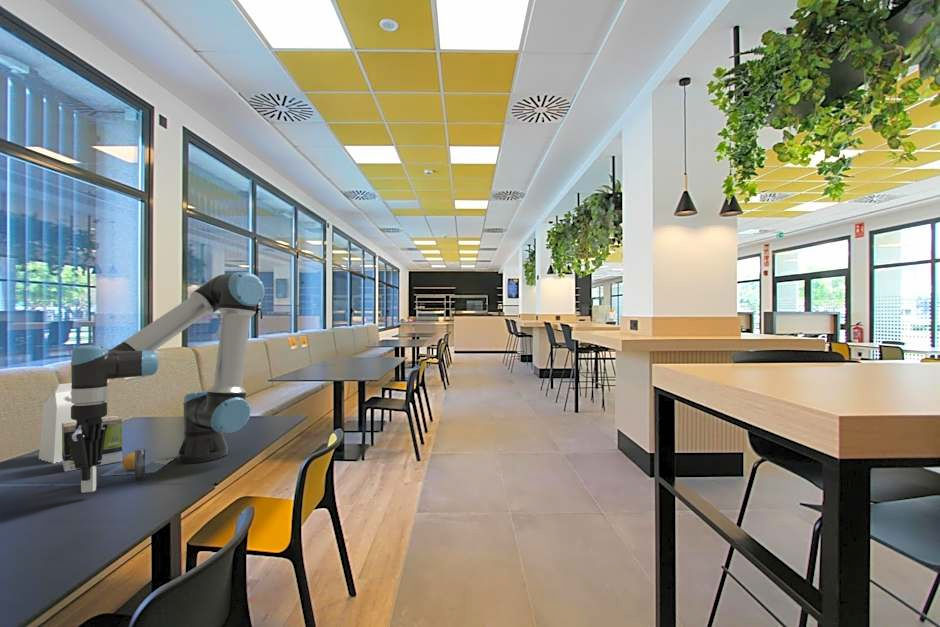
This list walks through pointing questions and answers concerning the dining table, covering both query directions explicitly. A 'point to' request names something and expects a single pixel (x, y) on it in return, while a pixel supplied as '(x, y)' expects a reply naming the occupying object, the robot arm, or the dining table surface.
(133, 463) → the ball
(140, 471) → the inner post
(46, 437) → the milk
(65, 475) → the dining table surface
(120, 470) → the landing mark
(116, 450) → the tea box
